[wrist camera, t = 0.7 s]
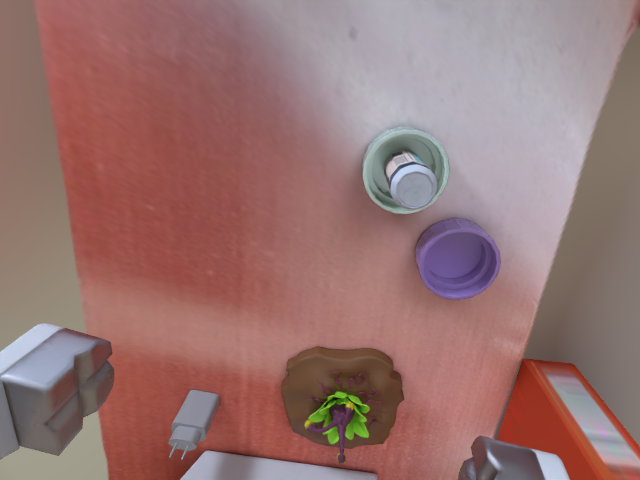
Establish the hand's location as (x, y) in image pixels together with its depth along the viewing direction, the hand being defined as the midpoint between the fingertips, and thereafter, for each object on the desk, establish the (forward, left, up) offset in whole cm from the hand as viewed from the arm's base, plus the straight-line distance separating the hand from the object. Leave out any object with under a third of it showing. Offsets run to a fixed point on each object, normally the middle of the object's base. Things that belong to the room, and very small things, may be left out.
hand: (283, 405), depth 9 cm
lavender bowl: (+15, +16, -46) cm, 51 cm away
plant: (+42, +3, -46) cm, 62 cm away
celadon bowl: (+3, +8, -46) cm, 47 cm away
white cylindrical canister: (+3, +8, -45) cm, 46 cm away
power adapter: (+46, -21, -46) cm, 68 cm away
